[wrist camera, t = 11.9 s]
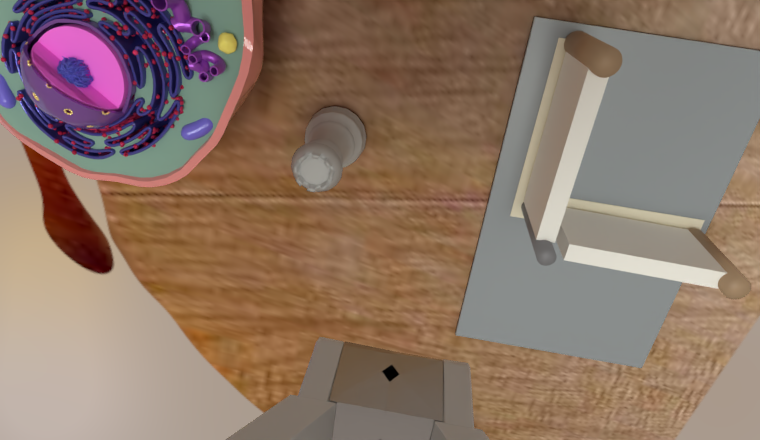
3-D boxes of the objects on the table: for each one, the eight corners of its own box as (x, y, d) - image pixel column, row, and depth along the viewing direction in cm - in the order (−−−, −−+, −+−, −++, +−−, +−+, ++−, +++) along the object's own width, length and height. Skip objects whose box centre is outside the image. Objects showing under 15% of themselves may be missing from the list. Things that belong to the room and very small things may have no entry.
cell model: (357, -5, 35) (320, 9, 24) (192, 189, 42) (113, 260, 32) (145, -222, 31) (-2, -311, 21) (7, 36, 38) (-149, 63, 28)
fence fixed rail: (566, 27, 34) (598, 45, 27) (591, 31, 34) (630, 50, 27) (515, 209, 40) (531, 263, 33) (536, 213, 40) (556, 267, 33)
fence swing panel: (546, 221, 39) (565, 268, 33) (553, 202, 38) (573, 246, 33) (698, 249, 39) (744, 301, 33) (707, 230, 38) (756, 280, 32)
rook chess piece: (376, 119, 38) (360, 155, 31) (354, 171, 40) (335, 217, 33) (319, 94, 38) (289, 125, 31) (300, 149, 40) (268, 190, 33)
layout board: (534, 16, 34) (535, 17, 33) (785, 54, 33) (790, 55, 33) (455, 332, 46) (455, 335, 45) (640, 364, 45) (642, 368, 45)
